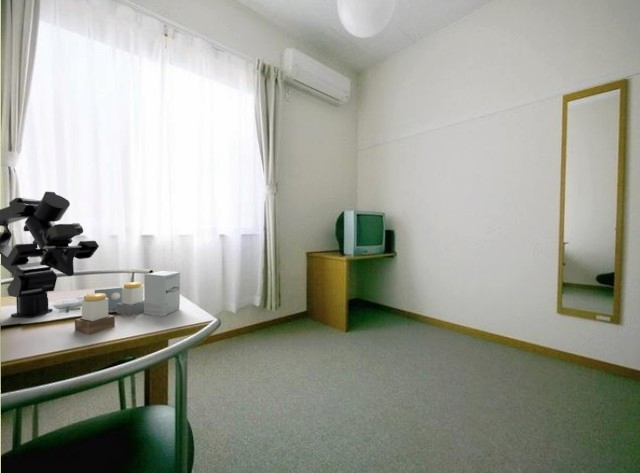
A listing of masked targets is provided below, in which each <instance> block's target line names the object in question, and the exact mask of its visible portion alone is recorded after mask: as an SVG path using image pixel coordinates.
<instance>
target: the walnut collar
mask: <svg viewBox="0 0 640 473" xmlns="http://www.w3.org/2000/svg"><path fill="white" fill-rule="evenodd" d="M115 319H116V316H115V315H113V314H108V317H105V318H102V319H98V320H95V321H89V320H84V319H82V317H80V318H76V319H74V331H75V332H78V333H82V334H87V335H90V336H91V335H94V334H97V333H100V332H103V331H107V330H109V329H112V328H115V327H116V325H115V323H116V322H115V321H116V320H115Z"/></svg>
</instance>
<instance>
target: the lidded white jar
mask: <svg viewBox="0 0 640 473" xmlns="http://www.w3.org/2000/svg"><path fill="white" fill-rule="evenodd" d="M108 315H109V311H108V298H106V294H104V293H96V294H95V293H89V294H86V295H84V296H83V299H82V300H81V318H82V319H84V320H89V321H95V320H98V319H102V318H105V317H108Z"/></svg>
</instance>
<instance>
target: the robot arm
mask: <svg viewBox="0 0 640 473" xmlns="http://www.w3.org/2000/svg"><path fill="white" fill-rule="evenodd" d="M8 203H9V204H8V206H6V207H3V208H0V227H2V228H4V229H3V231H0V254H1V264H0V265H1V266H2V267H3V269H6V270H7V271H8V272H10V274H12V275H13V279H12V280H11V282H10V284H9V285H8V287H7V288H6V291H7V295H8V296H9V297H13V298H15V299H16V312H15V313H10V317H15V318H16V317H17V318H18V317H20V318H34V317H37V316H40V315H44V314H47V313H49V312H52V311H53V308H49V297H48V292H54V291H55V288H56V284H57V279H58V277H57V273H56V272H55V271H54V270H56V271H57V272H61V273H62V274H64V275H66V276H68V277H71V276H73V275H74V272H75V270H74V269H75V267H74V259H78V260H84V259H91V258H92V257H93V256H94V254H95V252H96V251H98V249H99V247H100V246H99V244H98V242H97V241H96V240H80V241H79V242H78V243H77V245H70V244H72V242H73V238H75V237H77V236H80V235H81V234H83V233H84V229H83V226H82V225H81V224H80V223H79V222H77V223H76V222H75V223H74V222H73V223H57V224H56V223H55V222H58V221H61V219H62V218H63V216H64V215H65V213H66V212H67V210H68V209H69V207H70V205H71V204H70V201H69V200H68V199H67V198H65V197H63V196H62V195H59V194H57V193H56V192H55V191H47V190H46V191H45V192H44V194H43V196H42V198H31V197H30V198H28V197H15V198H13V199H12V200H11V201H9V202H8ZM22 220H25V221H24V224H25V225H24V226H23V232H29V233H30V234H31V236H32V238H33V241H32V242H31V243H16V244H15V245H14V246H13V247H11V246H10V241H11V238H12V236H13V234H12V232H11V230H10V229H9V227H8V226H9V225H10V224H13V223H15V222H16V223H17V222H19V221H22ZM29 258H31V259H32V258H40V259H41V261H34V262H31V261H30V260H29Z"/></svg>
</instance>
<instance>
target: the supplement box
mask: <svg viewBox="0 0 640 473" xmlns="http://www.w3.org/2000/svg"><path fill="white" fill-rule="evenodd" d="M180 293H181V272H180V271H171V270H170V271H169V270H160V271H155V272H150V273H145V274H144V285H143V300H144V312H143V314H145V315H151V316H158V317H165V316H166V315H169V314H170V313H173V312H176V311H178V310H179V309H180V295H181V294H180Z"/></svg>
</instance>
